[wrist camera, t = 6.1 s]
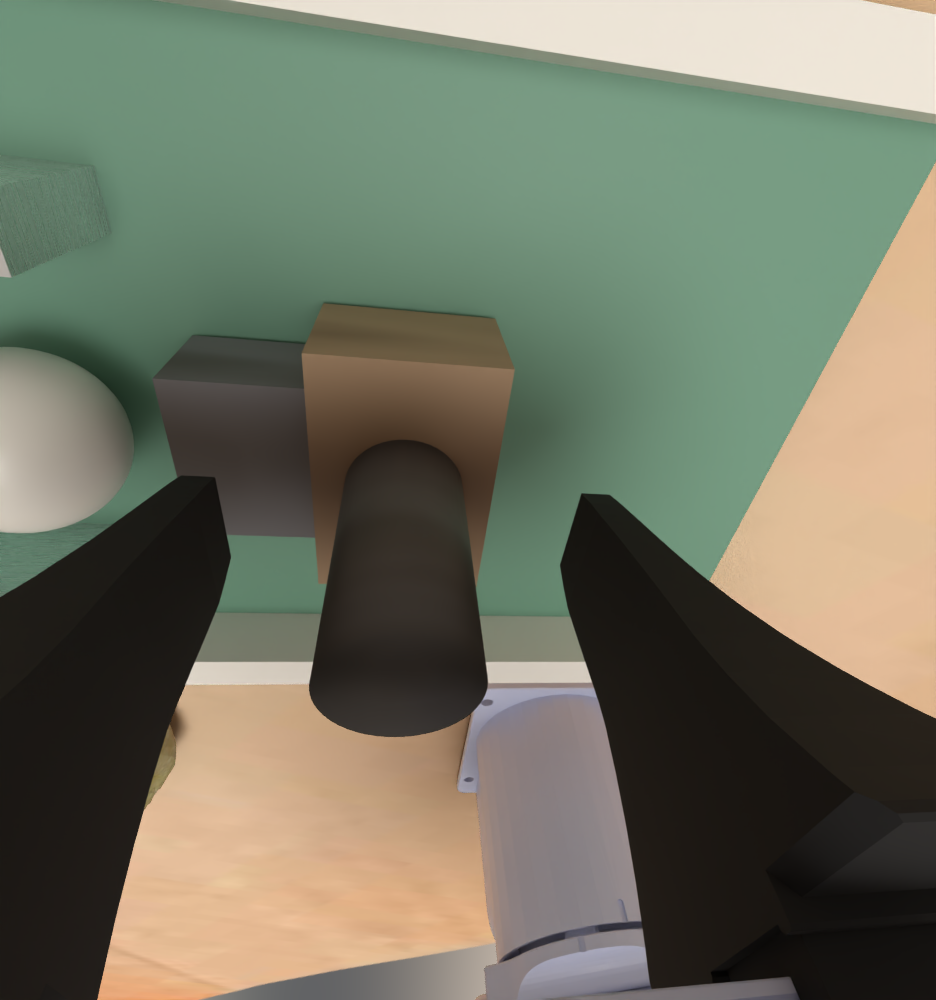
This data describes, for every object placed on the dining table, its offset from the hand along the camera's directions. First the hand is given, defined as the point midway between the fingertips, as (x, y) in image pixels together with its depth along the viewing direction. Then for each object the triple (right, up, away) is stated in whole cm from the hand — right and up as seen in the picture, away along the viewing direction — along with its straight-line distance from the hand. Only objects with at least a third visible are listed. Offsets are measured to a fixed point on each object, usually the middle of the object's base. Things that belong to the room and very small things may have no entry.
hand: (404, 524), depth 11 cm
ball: (-8, +2, +1) cm, 9 cm away
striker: (-2, +3, +3) cm, 4 cm away
